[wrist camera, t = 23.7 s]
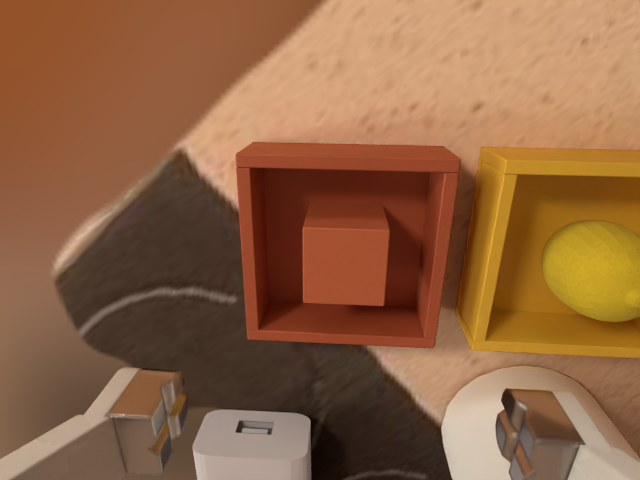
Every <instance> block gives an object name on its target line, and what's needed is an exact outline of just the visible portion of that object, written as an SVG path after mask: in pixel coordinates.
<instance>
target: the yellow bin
mask: <svg viewBox="0 0 640 480" xmlns="http://www.w3.org/2000/svg"><path fill="white" fill-rule="evenodd" d="M581 220H603V221H608V222H613V223H616V224H619V225H622V226H624V227H626V228H628V229H630V230H631V231H633V232H635V233H637V234H638V235H640V150H597V149H550V148H502V147H481V153H480V159H479V165H478V172H477V178H476V184H475V191H474V197H473V203H472V210H471V216H470V222H469V229H468V235H467V241H466V248H465V254H464V261H463V267H462V273H461V280H460V286H459V292H458V299H457V305H456V311H455V315H456V317H457V319H458V321H459V323H460V325H461V327H462V330H463V332H464V334H465V336H466V338H467V341H468V343H469V345H470V347H471V349H472V350H478V351H499V352H520V353H541V354H562V355H583V356H603V357H624V358H640V317H638V318H635V319H631V320H628V321H621V322H607V321H599V320H596V319H593V318H590V317H587V316H584V315H582V314H580V313H578V312H576V311H575V310H573V309H572V308H570V307H569V306H567V305H565V304H564V303H563V302H561V301H560V300H559V299H558V298H557V297H556V295H555V294H554V293H553V292H552V291H551V290H550V288H549V287H548V285H547V283H546V281H545V279H544V276H543V274H542V271H541V256H542V251H543V248H544V246H545V244H546V242H547V241H548V239H549V238H550V237H551V236H552V235H553V234H554V233H555V232H556V231H558V230H559V229H560V228H562V227H564V226H566V225H568V224H570V223H574V222H577V221H581Z"/></svg>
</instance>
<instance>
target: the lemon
mask: <svg viewBox="0 0 640 480" xmlns="http://www.w3.org/2000/svg"><path fill="white" fill-rule="evenodd" d="M541 271H542V274H543V276H544V279H545V281H546V283H547V285H548V287H549V288H550V290H551V291H552V292H553V293H554V294H555V295H556V297H557V298H558V299H559V300H560V301H561V302H563V303H564V304H565V305H567V306H569V307H570V308H572V309H573V310H575V311H576V312H578V313H580V314H582V315H584V316H587V317H590V318H593V319H596V320H599V321H607V322H621V321H628V320H631V319H635V318H638V317H640V235H638V234H637V233H635V232H633V231H631V230H630V229H628V228H626V227H624V226H622V225H619V224H616V223H613V222H608V221H603V220H581V221H577V222H574V223H570V224H568V225H566V226H564V227H562V228H560V229H559V230H558V231H556V232H555V233H554V234H553V235H552V236H551V237H550V238H549V239H548V241H547V242H546V244H545V246H544V248H543V251H542V256H541Z"/></svg>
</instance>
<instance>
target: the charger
mask: <svg viewBox="0 0 640 480" xmlns="http://www.w3.org/2000/svg"><path fill="white" fill-rule="evenodd" d="M193 453H194V460H195V466H196V473H197V479H198V480H311V421H310V419H309V418H308V417H307V416H304V415H302V414H298V413H285V412H265V411H245V410H216V411H212V412H210V413H208V414H206V416H205V418H204V420H203V423H202V425H201V427H200V429H199V432H198V434H197V436H196V439H195V441H194V444H193Z"/></svg>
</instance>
